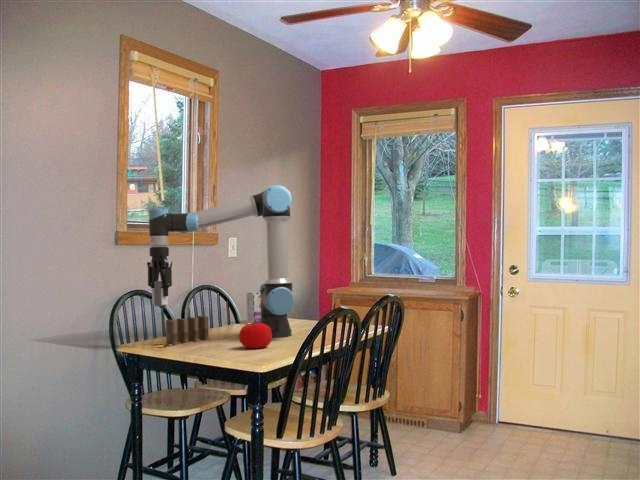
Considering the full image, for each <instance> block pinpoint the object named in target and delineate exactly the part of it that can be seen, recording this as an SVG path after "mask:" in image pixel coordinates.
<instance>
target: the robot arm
mask: <svg viewBox="0 0 640 480" xmlns="http://www.w3.org/2000/svg"><path fill="white" fill-rule="evenodd" d="M292 201H293V196H292V194H291V192H290V190H289V189H288V188H286V187H285V186H283V185H279V184H277V185H276V184H275V185H274V184H273V185H270V186H269V187H267V188H266V189H265V190H263V191H261V192H260V193H257V194H254V195H250V197H249V198H247V199H243V200H239V201H234V202H232V203H226V204H223V205H218V206H215V207H210V208H206V209H202V210H199V211H193V212H188V213H187V212H181V213H169V210H168V208H163V207H158V208H157V207H156V208H151V209H150V210H149V213H148V214H149V215H148V216H149V217H148V228H149V229H148V230H149V246H150V247H149V257H151V260H150V262H149V261H147V262H146V266H147V285H148V287H150V288H151V297H152V300H151V301H152V305H155V295H154V281H159V280H160V281H161V283H162V287H161V305H166V306H167V305H169V301H168V299H169V298H168V297H169V288H170V287H172V286H173V279H172V277H173V276H172V275H173V274H172V273H173V272H172V266H173V262H172V261H168V257H169V255H170V248H169V246H170V244H169V241H170V239H169V238H170V237H169V234H170V233H174V232H176V233H180V234H187V233H193V232H198V230H200V229H205V228H208V227H213V226H216V225H220V224H224V223H228V222H232V221H237V220H241V219H245V218H248V217H253V216H255V217H256V218H258V217H261V216H262V219H263V220H264V221H265V222H266V244H267V245H266V247H267V248H266V249H267V250H266V251H267V252H266V255H267V258H266V259H267V279H266V281H265V282H264V283H262V284H261V285H260V289H259V292H260V301H261V320H260V323H262V324H266V325H268V326H269V327H270V329H271V332H272V339H273V338H285V337H290V336H292V328H291V325H290V322H289V319H288V313H289V312H291V310H292V309H293V307H294V306H295V295H294V293H293V281H292V280H291V279H290V278H289V257H288V256H289V253H288V251H289V248H288V221H289V220H290V218H291V205H292ZM159 278H160V279H159ZM262 321H263V322H262Z"/></svg>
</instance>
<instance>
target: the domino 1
mask: <svg viewBox="0 0 640 480" xmlns="http://www.w3.org/2000/svg"><path fill="white" fill-rule="evenodd" d="M161 287H162V283H161V280H158V281H154V295H155V304H154V307H166V306H167V305H161Z"/></svg>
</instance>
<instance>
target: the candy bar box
mask: <svg viewBox="0 0 640 480" xmlns="http://www.w3.org/2000/svg"><path fill="white" fill-rule="evenodd" d="M246 308H247V309H246V312H247V313H246V315H247V324H248V323H254V322H256V323H260V320H261V301H260V291H254V292H253V291H252V292H247V293H246Z"/></svg>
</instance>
